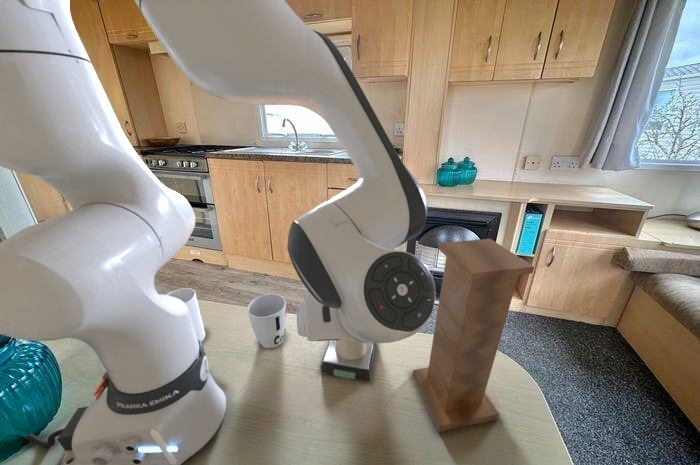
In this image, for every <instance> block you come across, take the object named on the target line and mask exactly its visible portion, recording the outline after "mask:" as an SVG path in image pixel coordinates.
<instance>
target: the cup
mask: <svg viewBox="0 0 700 465" xmlns="http://www.w3.org/2000/svg"><path fill="white" fill-rule="evenodd" d="M246 310H247V314H248V319H249V322H250V325H251V328H252V330H253V333H254V336H255V337H256V339H257V340H258V342H259V344H260V345H261V346H262V347H263V348H265V349H274V348H276V347H278V346H279V345H281V344H282V343H283V342H284V336H285V333H286V328H287V301H286V298H284V296H282V295H280V294H278V293H277V294H276V293H266V294H261V295H259V296H257V297H254V298H253V299H252V300H251V301H250V302H249V303H248V304H247V308H246Z"/></svg>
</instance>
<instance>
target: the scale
mask: <svg viewBox="0 0 700 465" xmlns="http://www.w3.org/2000/svg"><path fill="white" fill-rule="evenodd" d="M376 346H377V343H367V350H366V353H365V354H364V355H363V356H362V357H361V358H359V359H356V360H346V359H343V358H341V357H340V356H339V355H338V354H337V353H336V351H335V340H329V341H328V345H327V347H326V349H325V352H324V355H323V358H322V361H321V362H320V373H323V374H324V373H325V374H330V375H333V376H335V377H341V378H346V379H352V380H361V381H365V382H370V381H371V376H372V369H373V363H374V359H375V358H374V357H375V352H376Z"/></svg>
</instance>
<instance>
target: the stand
mask: <svg viewBox="0 0 700 465" xmlns="http://www.w3.org/2000/svg"><path fill="white" fill-rule="evenodd" d="M437 249H438V250H439V251H440V253H442V254H443V255H444V256H445V262H444V269H443V275H442V281H441V287H440V294H439V299H438V306H437V311H436V318H435V326H434V330H433V337H432V345H431V349H430V356H429V362H428V367H422V368H417V369H413V370H412V377H413V380H414V382H415V384H416V386H417V388H418V390H419V393H420V395H421V397H422V400H423V401H424V403H425V406H426V409H427V411H428V412H429V414H430V417H431V419H432V421H433V423H434V426H435V428H436V430H437V433H440V432H444V431H445V432H446V431H450V430H454V429H458V428H464V427H468V426H473V425H477V424H482V423H487V422H492V421H496V420H498V419H499V415H500V413H499V411H498V410H497V409H496V407H495V405H493V403H492V402H491V400H490V398H489V397H488V396H487V394H486V389H487V386H488V383H489V379H490V377H491V372H492V369H493V365H494V361H495V358H496V356H497V352H498V350H499V349H498V348H499V345H500V342H501V337H502V334H503V331H504V327H505V324H506V320H507V317H508V314H509V310H510V306H511V304H512V299H513V296H514V293H515V289H516V287H517V282H518V279H519V276H520V275H528V274H533V272H534V269H535V266H534V265H532V264H531V263H529V262H528V261H526V260H524V259H523V258H521V257H520V256H518V255H517V254H515V253H513V252H512V251H510V250H509V249H507V248H505V247H504V246H502V245H501V244H499V243H498V242H496V241H495V240H493V239H492V238H484V239H483V238H482V239H472V240H471V239H470V240H461V241H448V242H438V246H437Z"/></svg>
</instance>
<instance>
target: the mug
mask: <svg viewBox="0 0 700 465" xmlns="http://www.w3.org/2000/svg"><path fill="white" fill-rule="evenodd" d="M165 295H168V296H172V297H175V298H178V299H180V300H182V301H183V302H184V303H185V304H186V305H187V306H188V308H189V311H190V315H191V318H192V322H193V325H194V328H195V332H196V335H197V337H198V338H199V339H200V340H201V342H202V343H203V341H204V339H205V338H206V331H205V327H204V323H203V318H202V315H201V311H200V310H201V309H200V307H199V306H200V305H199V302H198V298H197V294H196V291H195V290H194V289H193V288H190V287H183V288H178V289H174V290H171V291H169V292H167V293H166V294H165Z"/></svg>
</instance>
